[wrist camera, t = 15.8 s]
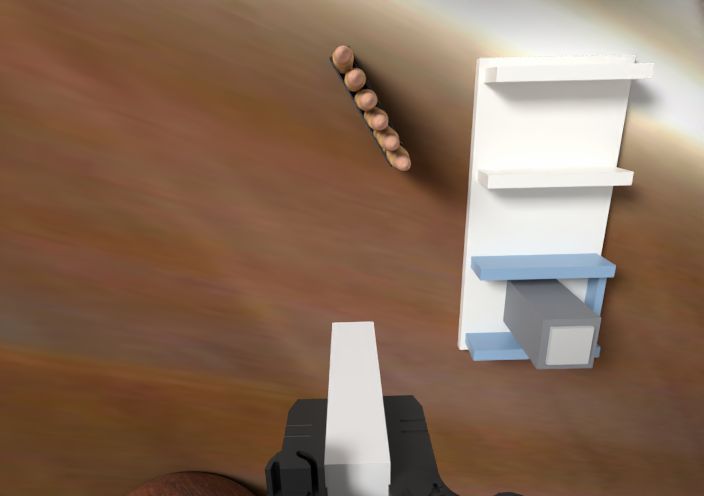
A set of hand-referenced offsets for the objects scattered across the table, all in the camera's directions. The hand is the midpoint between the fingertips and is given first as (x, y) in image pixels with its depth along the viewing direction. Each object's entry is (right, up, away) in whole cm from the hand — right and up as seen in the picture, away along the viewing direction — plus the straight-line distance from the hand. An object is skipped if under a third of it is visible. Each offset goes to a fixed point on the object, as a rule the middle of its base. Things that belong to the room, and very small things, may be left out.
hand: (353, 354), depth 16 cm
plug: (+19, -2, +31) cm, 36 cm away
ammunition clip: (+1, +17, +25) cm, 31 cm away
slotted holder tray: (+19, +7, +29) cm, 35 cm away
